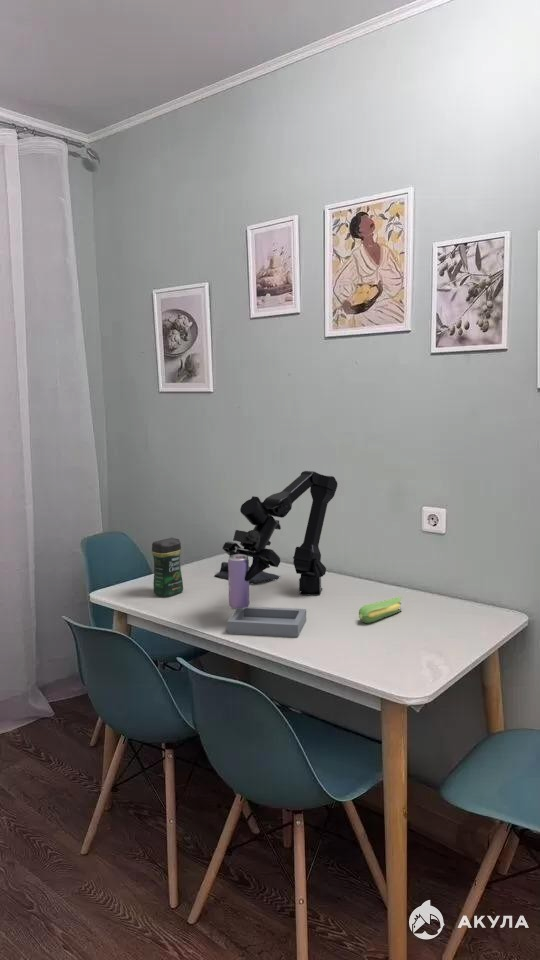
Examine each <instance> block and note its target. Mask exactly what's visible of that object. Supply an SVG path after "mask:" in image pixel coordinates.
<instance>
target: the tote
mask: <svg viewBox="0 0 540 960" xmlns="http://www.w3.org/2000/svg"><path fill="white" fill-rule="evenodd" d="M231 615H232V616H230V618H229V619H228V620H227V622H226V623H227V634H231V635H248V636H249V635H250V636H252V635H253V636H265V637H266V636H268V637H285V638H287V637H289V638H299V636H300V634H301V633H302V631H303V628H304V627H305V624H306V623H307V609H306V608H292V607H291V608H289V607H269V606H268V607H267V606H250V605H249V606H248V607H247V608H246V609H241V610H236V609H235V611H234V613H233V614H231Z"/></svg>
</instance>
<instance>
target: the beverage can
mask: <svg viewBox="0 0 540 960" xmlns="http://www.w3.org/2000/svg"><path fill="white" fill-rule="evenodd" d="M227 562H228V579H227V580H228V606H229V607H230V608H231V609H232V610H235V611H236V610H241V609H246V608H247V607H248V606H250V583H249V581H246V580H245V578H246V575H247V573H248V571H249V567H250V560H249V556H247V555H243V554H235V555H231V556H228V560H227Z"/></svg>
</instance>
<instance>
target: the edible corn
mask: <svg viewBox="0 0 540 960" xmlns="http://www.w3.org/2000/svg"><path fill="white" fill-rule="evenodd" d="M403 598H404V597H403V596H397V597H394V598H390V599H387V600H382V601H379V602H373V603H369V604H364V605H363V606H361V607H360V608H359V610H358V619H359V620H360V621H361V622H362V623H364V624H365V623H366V624H372V623H374V622H377V621H380V620H382V619H385V618H387V616H388V617H390V616H393V615H396V614H398V613H397V612H399V613H401V612H400V611H401V610H400V609H399V608H401V605H402V602H400V601H402V600H403ZM398 609H399V610H398ZM395 613H396V614H395ZM392 614H393V615H392ZM384 617H385V618H384ZM379 619H380V620H379ZM371 622H372V623H371Z"/></svg>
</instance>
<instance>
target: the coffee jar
mask: <svg viewBox="0 0 540 960" xmlns="http://www.w3.org/2000/svg"><path fill="white" fill-rule="evenodd" d="M151 545H152V546H151V554H152V557H153V574H154V575H153V594H154V595H155V596H157V597H161V598H162V597H164V598H165V597H166V598H167V597H171V596H175V595H178V594H181V593H183V591H184V583H183V577H182V568H181V567H182V566H181V554H182V545H181V540H180V539H179V538H177V537H168V538H165V539H164V538H163V539H160V540H156V541H153V542H152V544H151Z"/></svg>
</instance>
